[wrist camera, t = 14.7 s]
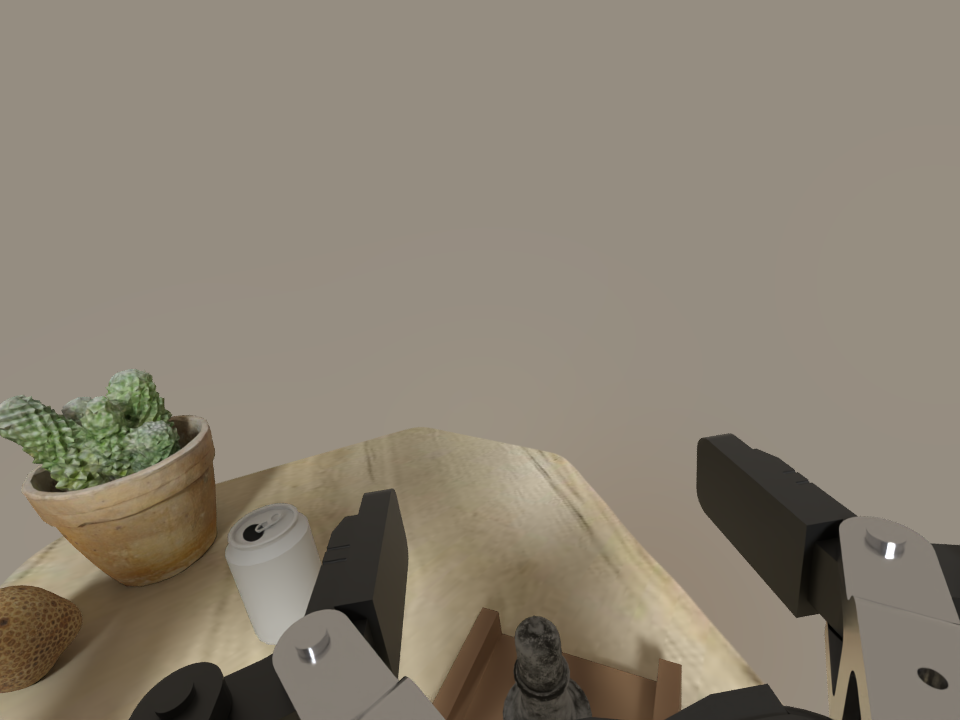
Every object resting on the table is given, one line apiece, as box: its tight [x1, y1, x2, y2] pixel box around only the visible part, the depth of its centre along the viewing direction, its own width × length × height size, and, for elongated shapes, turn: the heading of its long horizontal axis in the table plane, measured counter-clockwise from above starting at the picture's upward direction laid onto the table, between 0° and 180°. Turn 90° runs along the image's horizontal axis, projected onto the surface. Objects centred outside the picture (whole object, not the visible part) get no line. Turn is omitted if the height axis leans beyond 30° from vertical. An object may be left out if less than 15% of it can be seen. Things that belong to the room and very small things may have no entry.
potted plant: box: [0, 369, 217, 586], centre depth 56 cm, size 18×19×25 cm
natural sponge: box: [0, 585, 82, 693], centre depth 43 cm, size 9×9×10 cm
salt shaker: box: [503, 616, 592, 720], centre depth 30 cm, size 6×6×12 cm
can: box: [225, 503, 322, 645], centre depth 45 cm, size 8×8×12 cm
